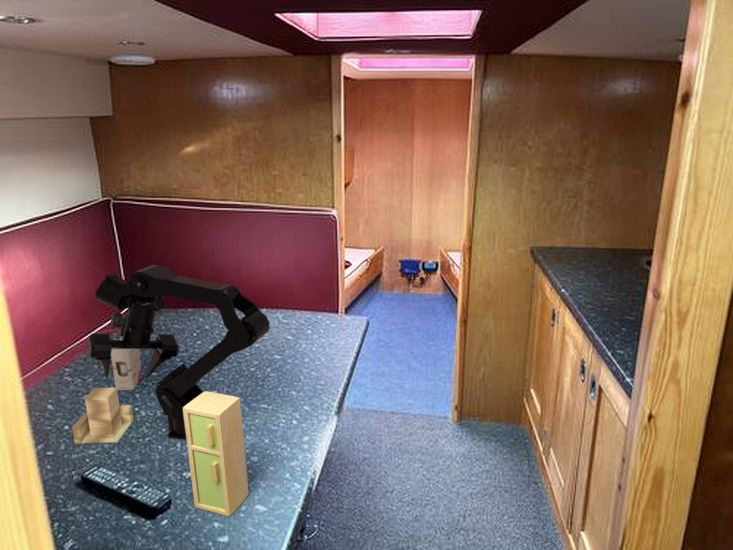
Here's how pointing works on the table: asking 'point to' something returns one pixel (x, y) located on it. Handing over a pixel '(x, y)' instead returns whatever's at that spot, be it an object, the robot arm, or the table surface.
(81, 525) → the table surface
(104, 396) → the maple block
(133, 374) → the ink box
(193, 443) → the toy refrigerator
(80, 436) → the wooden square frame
